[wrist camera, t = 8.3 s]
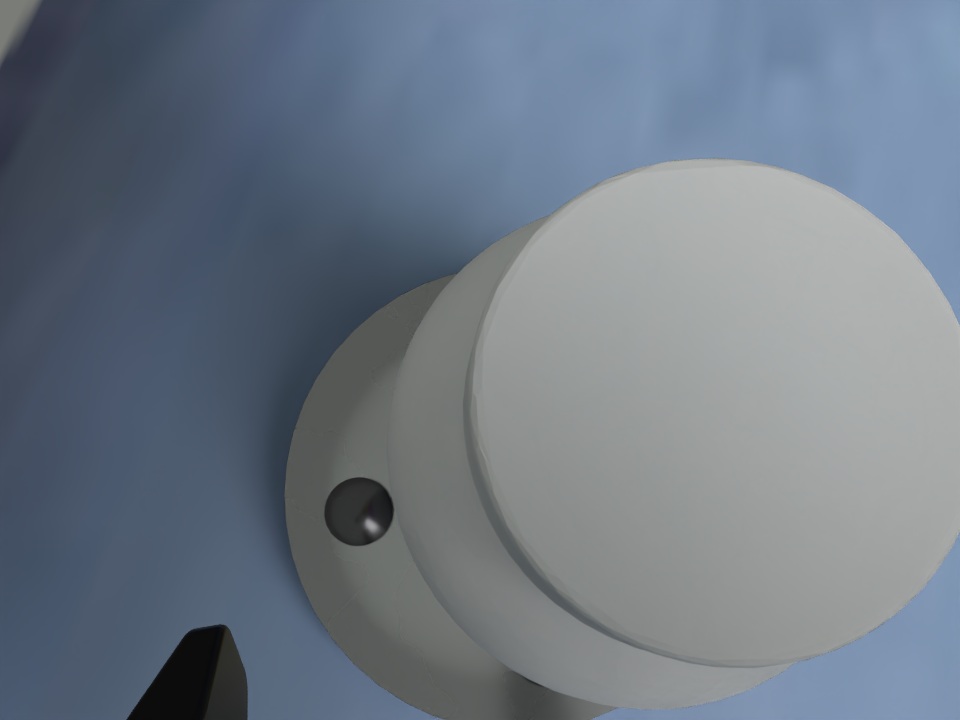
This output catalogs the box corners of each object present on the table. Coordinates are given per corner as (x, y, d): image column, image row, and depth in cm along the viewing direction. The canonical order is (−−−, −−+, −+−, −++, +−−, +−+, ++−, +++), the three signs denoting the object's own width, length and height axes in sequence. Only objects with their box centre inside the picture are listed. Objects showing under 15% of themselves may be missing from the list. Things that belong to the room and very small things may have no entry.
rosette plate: (775, 676, 20) (792, 683, 19) (321, 762, 19) (315, 774, 18) (678, 251, 22) (689, 237, 21) (268, 311, 22) (260, 300, 21)
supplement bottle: (457, 318, 21) (482, -29, 8) (714, 393, 21) (1138, 158, 8) (375, 585, 19) (249, 660, 7) (651, 668, 19) (1046, 903, 7)
